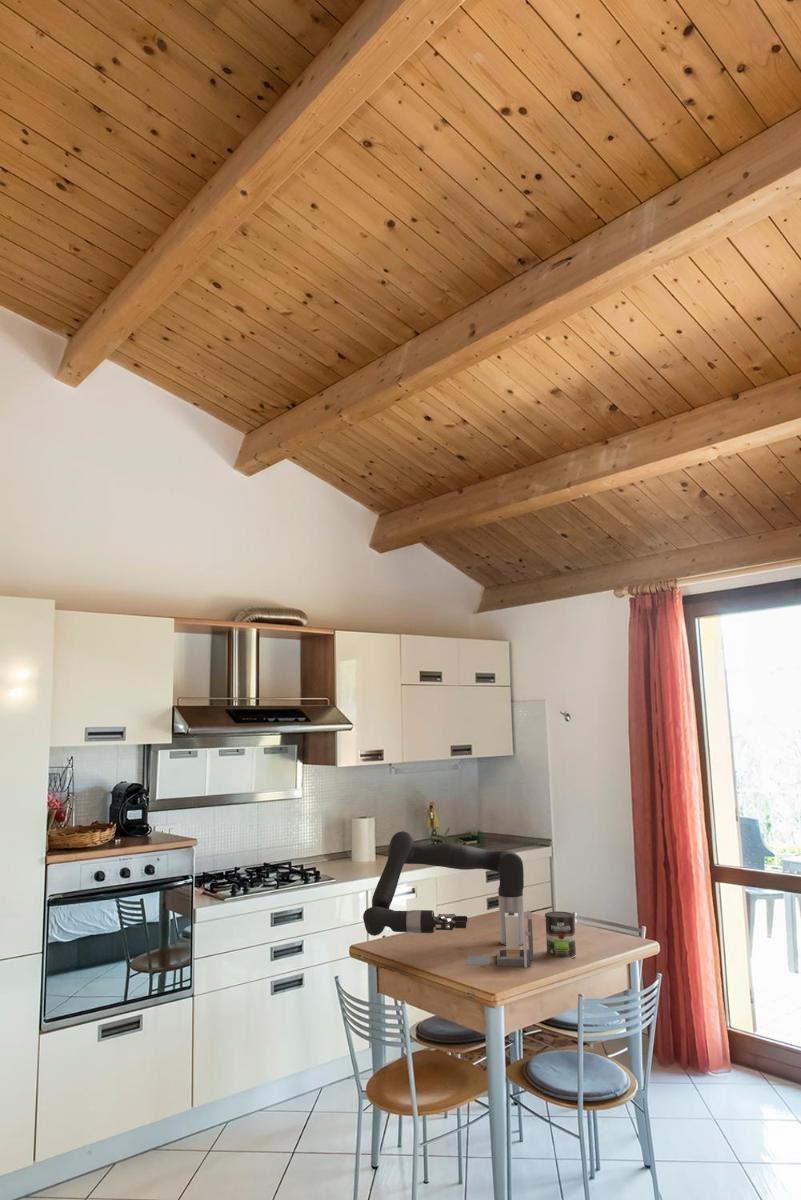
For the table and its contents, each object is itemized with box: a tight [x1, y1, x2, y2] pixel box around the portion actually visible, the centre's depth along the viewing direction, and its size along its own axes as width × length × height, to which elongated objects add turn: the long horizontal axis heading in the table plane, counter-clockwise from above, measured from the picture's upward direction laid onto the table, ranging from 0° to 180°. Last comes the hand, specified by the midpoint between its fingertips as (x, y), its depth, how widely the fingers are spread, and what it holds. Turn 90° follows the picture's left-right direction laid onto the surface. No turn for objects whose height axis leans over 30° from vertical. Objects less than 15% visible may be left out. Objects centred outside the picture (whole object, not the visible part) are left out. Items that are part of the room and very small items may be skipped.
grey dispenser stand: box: [496, 910, 535, 969], centre depth 280 cm, size 15×12×16 cm
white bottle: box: [505, 912, 521, 959], centre depth 281 cm, size 5×4×16 cm
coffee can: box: [544, 911, 577, 959], centre depth 290 cm, size 10×10×14 cm
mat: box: [465, 955, 491, 966], centre depth 281 cm, size 12×8×1 cm, turn 173°
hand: (466, 922), depth 284 cm, fingers open, 8 cm apart
